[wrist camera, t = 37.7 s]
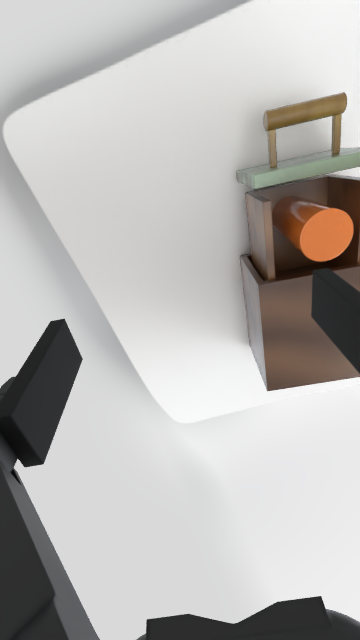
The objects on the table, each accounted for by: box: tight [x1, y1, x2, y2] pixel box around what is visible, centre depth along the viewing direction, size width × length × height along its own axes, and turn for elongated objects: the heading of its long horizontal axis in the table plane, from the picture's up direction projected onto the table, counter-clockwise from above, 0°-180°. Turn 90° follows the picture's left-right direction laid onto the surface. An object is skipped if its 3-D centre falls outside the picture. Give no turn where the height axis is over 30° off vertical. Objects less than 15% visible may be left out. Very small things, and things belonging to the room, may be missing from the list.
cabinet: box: [240, 254, 360, 391], centre depth 39 cm, size 15×13×11 cm
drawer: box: [237, 93, 360, 281], centre depth 33 cm, size 18×11×9 cm, turn 11°
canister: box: [272, 195, 353, 261], centre depth 32 cm, size 5×5×10 cm
